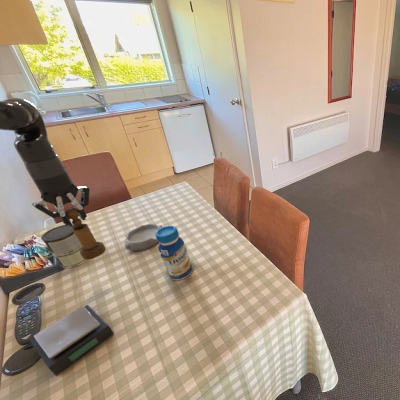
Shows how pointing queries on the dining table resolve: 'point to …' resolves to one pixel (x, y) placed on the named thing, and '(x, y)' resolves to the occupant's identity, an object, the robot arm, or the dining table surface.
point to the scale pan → (66, 331)
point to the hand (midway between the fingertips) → (76, 221)
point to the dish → (142, 237)
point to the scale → (75, 346)
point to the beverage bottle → (174, 253)
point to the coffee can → (64, 246)
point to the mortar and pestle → (85, 237)
